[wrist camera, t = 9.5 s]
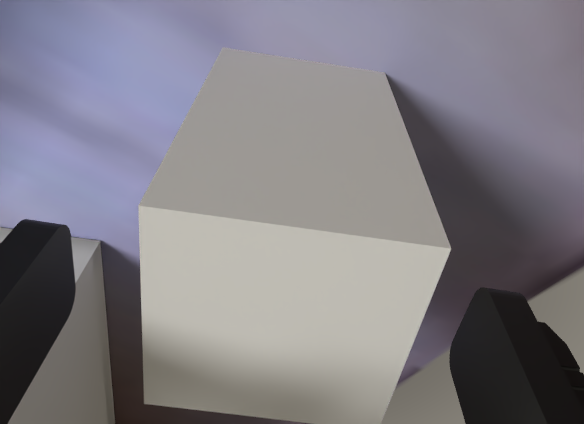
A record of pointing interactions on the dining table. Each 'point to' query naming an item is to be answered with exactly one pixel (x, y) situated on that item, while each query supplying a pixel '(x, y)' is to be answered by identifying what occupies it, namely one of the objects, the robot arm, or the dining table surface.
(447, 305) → the dining table surface
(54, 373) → the storage box
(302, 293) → the block
